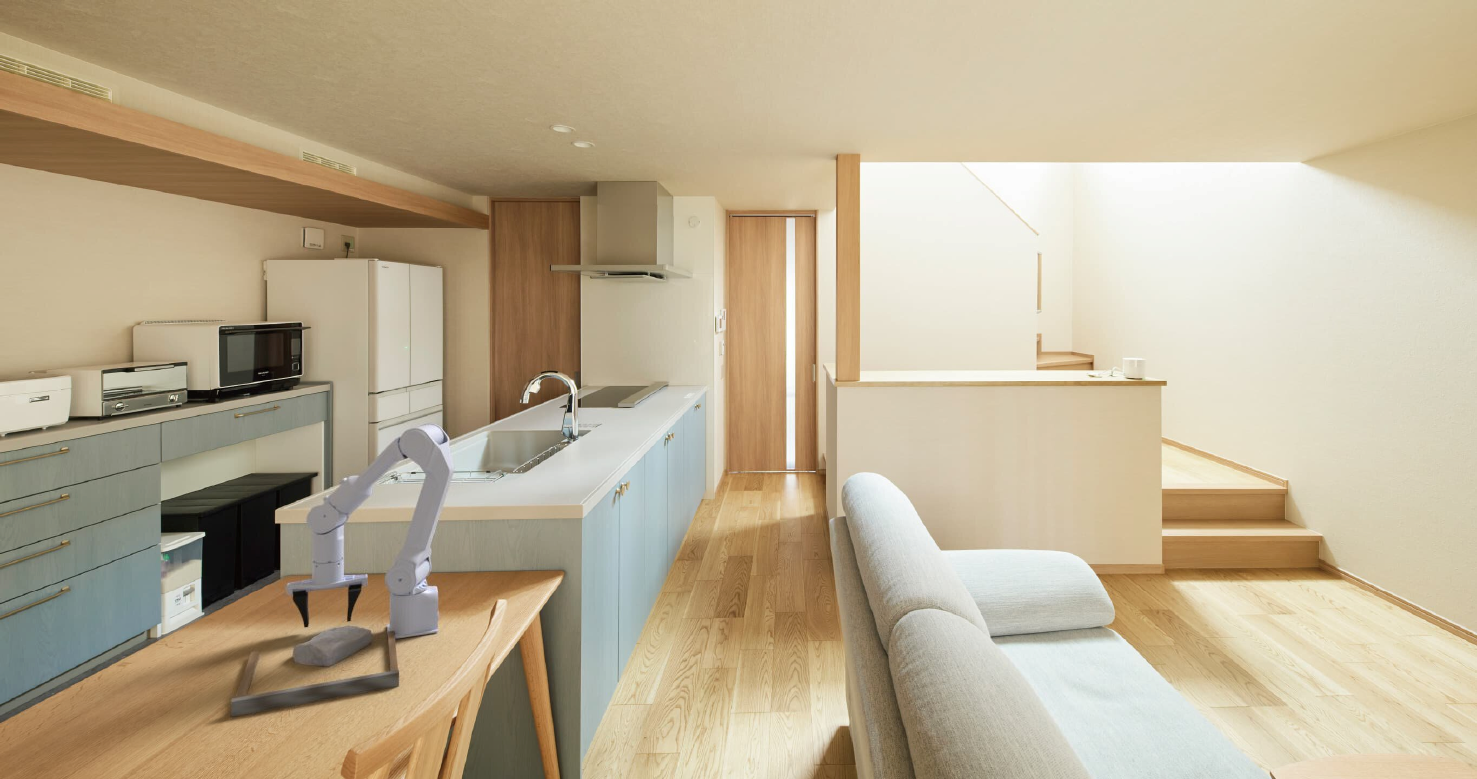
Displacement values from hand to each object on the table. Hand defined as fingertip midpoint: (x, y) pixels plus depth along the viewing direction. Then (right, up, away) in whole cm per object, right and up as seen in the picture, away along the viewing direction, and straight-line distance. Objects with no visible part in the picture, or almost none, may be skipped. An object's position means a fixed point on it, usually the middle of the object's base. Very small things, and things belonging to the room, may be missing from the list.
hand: (328, 622), depth 144 cm
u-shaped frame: (+9, -3, -17) cm, 20 cm away
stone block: (+6, -3, -9) cm, 12 cm away
